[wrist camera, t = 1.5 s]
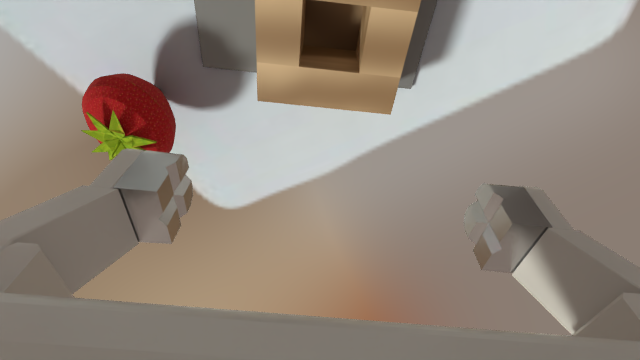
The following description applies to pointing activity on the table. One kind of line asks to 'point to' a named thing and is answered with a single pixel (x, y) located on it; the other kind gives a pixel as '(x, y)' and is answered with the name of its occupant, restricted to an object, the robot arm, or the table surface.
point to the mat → (240, 36)
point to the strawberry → (128, 115)
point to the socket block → (333, 51)
